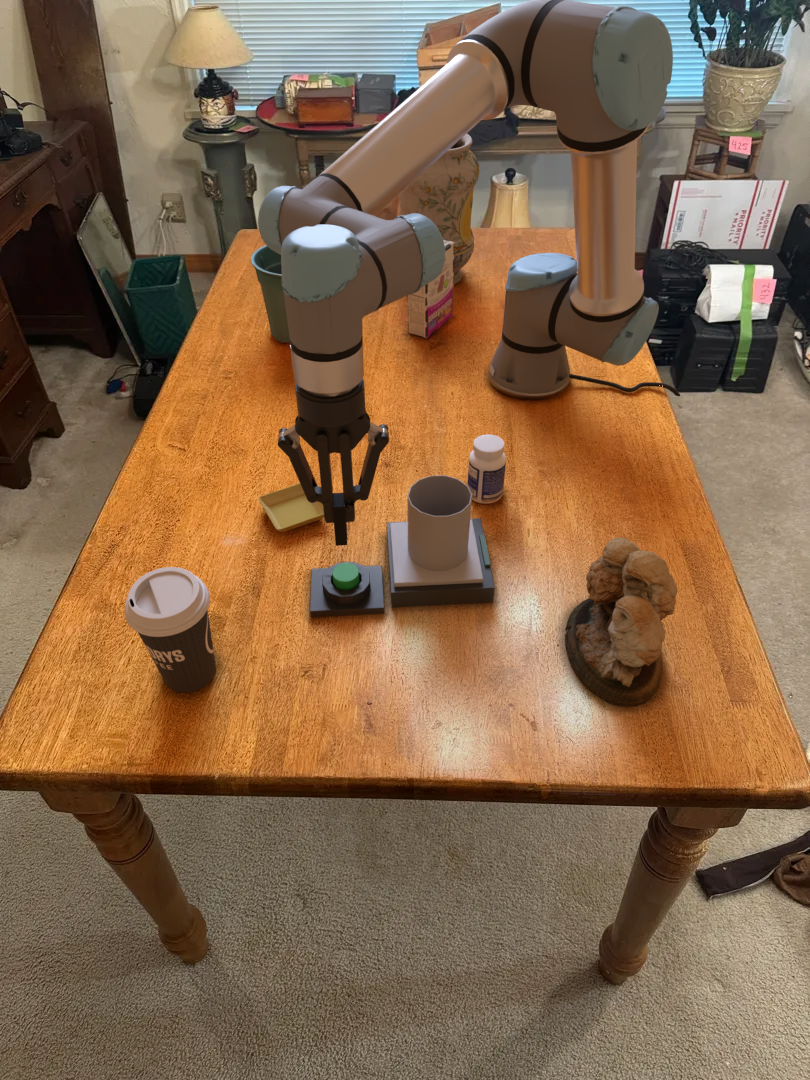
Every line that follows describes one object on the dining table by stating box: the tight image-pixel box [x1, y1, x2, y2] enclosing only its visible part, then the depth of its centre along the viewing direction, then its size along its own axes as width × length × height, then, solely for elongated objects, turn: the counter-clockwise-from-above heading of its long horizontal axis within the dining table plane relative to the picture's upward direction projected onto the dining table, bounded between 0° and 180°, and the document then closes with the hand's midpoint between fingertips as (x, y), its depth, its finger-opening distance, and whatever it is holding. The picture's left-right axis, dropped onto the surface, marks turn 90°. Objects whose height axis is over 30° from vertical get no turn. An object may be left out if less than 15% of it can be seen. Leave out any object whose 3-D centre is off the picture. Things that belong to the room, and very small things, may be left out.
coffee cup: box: [124, 566, 217, 694], centre depth 91 cm, size 10×10×15 cm
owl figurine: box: [564, 536, 679, 707], centre depth 93 cm, size 18×12×17 cm, turn 6°
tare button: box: [332, 563, 359, 590], centre depth 103 cm, size 4×4×2 cm
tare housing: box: [309, 561, 385, 618], centre depth 105 cm, size 10×8×3 cm
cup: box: [407, 474, 473, 571], centre depth 103 cm, size 8×8×10 cm
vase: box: [399, 133, 480, 285], centre depth 167 cm, size 18×18×30 cm
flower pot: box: [250, 244, 291, 345], centre depth 153 cm, size 16×16×16 cm
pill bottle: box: [466, 433, 507, 505], centre depth 118 cm, size 6×6×10 cm
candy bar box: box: [407, 239, 455, 339], centre depth 155 cm, size 11×5×16 cm, turn 148°
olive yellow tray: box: [258, 482, 324, 533], centre depth 117 cm, size 9×9×2 cm
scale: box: [386, 517, 496, 608], centre depth 108 cm, size 14×14×4 cm
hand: (341, 538), depth 98 cm, fingers closed
